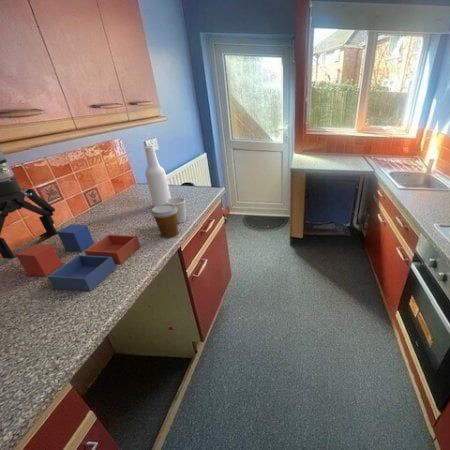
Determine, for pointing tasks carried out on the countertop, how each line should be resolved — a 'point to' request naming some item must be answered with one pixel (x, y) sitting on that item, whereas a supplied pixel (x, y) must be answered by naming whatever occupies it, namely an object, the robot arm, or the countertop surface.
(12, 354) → the countertop surface
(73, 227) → the blue block
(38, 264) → the red block
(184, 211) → the dixie cup
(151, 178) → the white bottle
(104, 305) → the countertop surface
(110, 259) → the blue bin
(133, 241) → the red bin
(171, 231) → the disposable coffee cup
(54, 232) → the robot arm
